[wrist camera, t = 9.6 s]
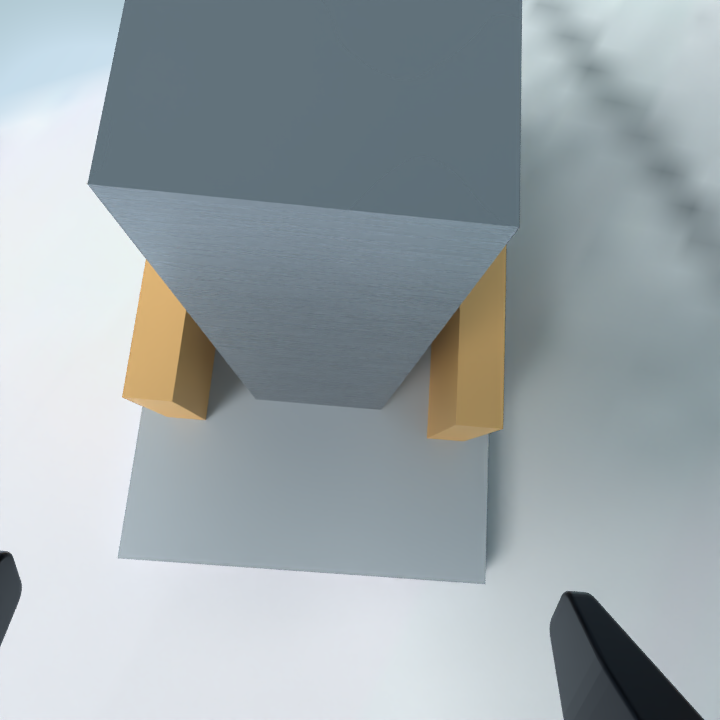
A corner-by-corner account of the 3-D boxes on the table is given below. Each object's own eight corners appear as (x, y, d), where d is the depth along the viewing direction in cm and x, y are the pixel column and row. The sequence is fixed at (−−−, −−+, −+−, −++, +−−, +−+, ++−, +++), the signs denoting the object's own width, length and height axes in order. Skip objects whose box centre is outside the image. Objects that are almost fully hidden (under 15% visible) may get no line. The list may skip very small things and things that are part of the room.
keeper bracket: (476, 578, 18) (570, 636, 11) (128, 554, 17) (4, 597, 11) (485, 233, 21) (565, 108, 14) (185, 203, 20) (114, 58, 13)
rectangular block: (380, 410, 18) (518, 227, 5) (255, 399, 18) (87, 184, 5) (388, 292, 19) (523, -107, 6) (269, 280, 19) (155, -153, 6)
